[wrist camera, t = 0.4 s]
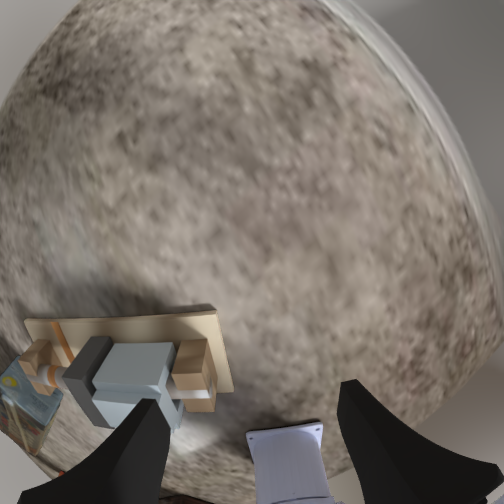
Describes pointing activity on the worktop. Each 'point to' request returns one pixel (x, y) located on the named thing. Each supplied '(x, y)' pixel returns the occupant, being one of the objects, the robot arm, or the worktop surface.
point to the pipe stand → (136, 331)
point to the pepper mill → (181, 500)
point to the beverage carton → (25, 409)
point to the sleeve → (136, 381)
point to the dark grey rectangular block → (88, 376)
